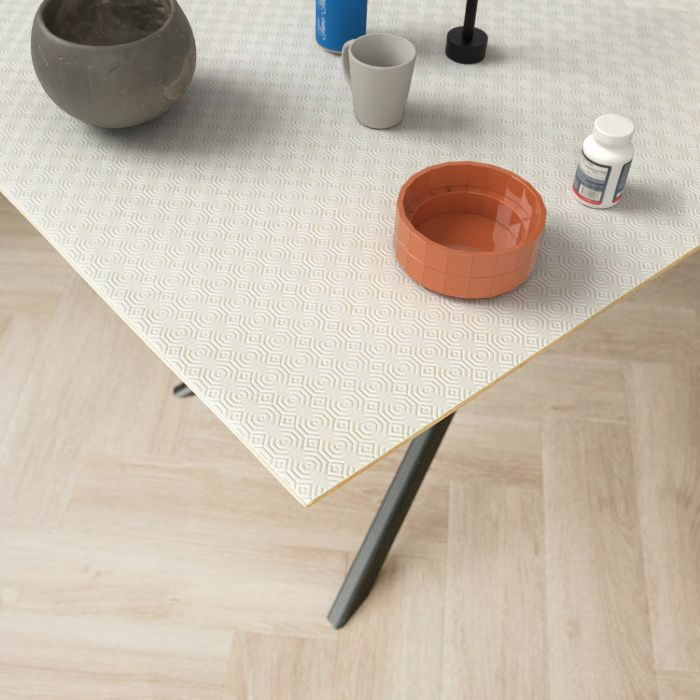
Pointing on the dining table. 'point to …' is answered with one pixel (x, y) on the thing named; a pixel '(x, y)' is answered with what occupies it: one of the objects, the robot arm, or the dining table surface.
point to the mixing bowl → (468, 229)
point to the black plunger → (467, 39)
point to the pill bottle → (604, 162)
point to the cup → (379, 77)
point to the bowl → (113, 58)
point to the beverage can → (339, 22)
